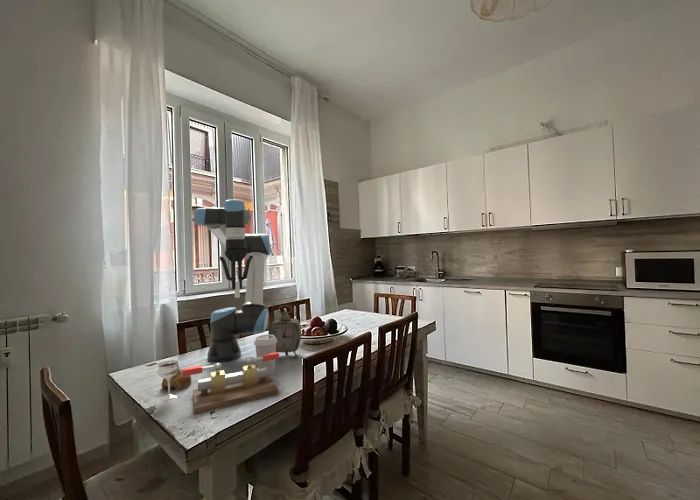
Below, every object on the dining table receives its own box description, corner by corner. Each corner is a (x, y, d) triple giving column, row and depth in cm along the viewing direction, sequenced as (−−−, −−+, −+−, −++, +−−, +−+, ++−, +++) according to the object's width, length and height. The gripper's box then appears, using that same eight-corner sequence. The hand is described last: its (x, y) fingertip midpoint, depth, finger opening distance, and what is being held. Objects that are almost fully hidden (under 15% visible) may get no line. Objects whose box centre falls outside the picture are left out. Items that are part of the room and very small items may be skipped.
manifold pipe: (197, 391, 111) (197, 370, 111) (265, 377, 123) (265, 358, 122) (198, 397, 107) (197, 375, 107) (268, 381, 119) (268, 361, 119)
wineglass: (154, 398, 111) (153, 364, 111) (173, 391, 117) (173, 358, 117) (164, 403, 107) (163, 368, 107) (183, 395, 113) (182, 362, 113)
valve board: (192, 395, 113) (192, 389, 113) (268, 379, 126) (268, 374, 126) (194, 414, 100) (194, 408, 100) (278, 394, 112) (278, 388, 112)
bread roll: (192, 394, 122) (200, 372, 125) (168, 392, 114) (177, 369, 117) (177, 388, 127) (185, 368, 130) (153, 387, 119) (162, 365, 122)
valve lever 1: (221, 367, 114) (221, 361, 114) (222, 369, 112) (221, 364, 112) (183, 374, 108) (182, 368, 108) (182, 376, 106) (182, 370, 106)
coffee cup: (271, 378, 127) (271, 341, 127) (250, 376, 129) (249, 340, 128) (281, 368, 136) (281, 334, 136) (261, 367, 138) (260, 333, 138)
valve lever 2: (246, 365, 116) (246, 359, 116) (245, 362, 118) (245, 357, 118) (279, 358, 122) (279, 353, 122) (277, 356, 124) (277, 351, 124)
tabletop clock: (268, 360, 147) (267, 307, 147) (273, 353, 156) (272, 303, 156) (299, 359, 147) (298, 306, 147) (302, 353, 156) (301, 303, 156)
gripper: (219, 238, 119) (221, 300, 120) (254, 238, 126) (255, 296, 127) (216, 239, 126) (218, 297, 126) (250, 238, 132) (251, 294, 133)
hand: (237, 297), depth 126 cm, fingers closed
